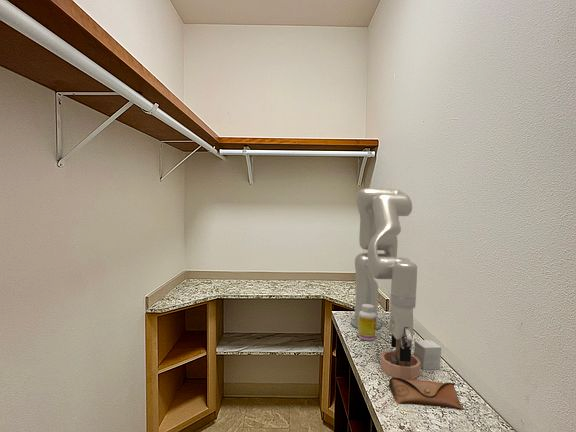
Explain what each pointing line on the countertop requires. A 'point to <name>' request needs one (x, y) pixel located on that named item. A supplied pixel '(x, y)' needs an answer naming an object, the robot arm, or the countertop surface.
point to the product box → (427, 354)
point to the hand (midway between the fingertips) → (400, 353)
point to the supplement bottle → (367, 323)
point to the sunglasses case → (424, 393)
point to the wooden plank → (398, 346)
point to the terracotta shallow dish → (403, 372)
